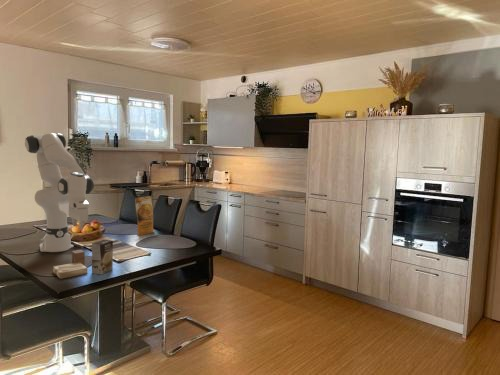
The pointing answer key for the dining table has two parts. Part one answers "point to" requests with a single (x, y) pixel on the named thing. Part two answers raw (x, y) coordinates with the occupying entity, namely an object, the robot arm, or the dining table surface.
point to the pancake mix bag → (144, 215)
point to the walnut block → (78, 256)
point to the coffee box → (102, 256)
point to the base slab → (69, 270)
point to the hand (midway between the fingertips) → (77, 227)
